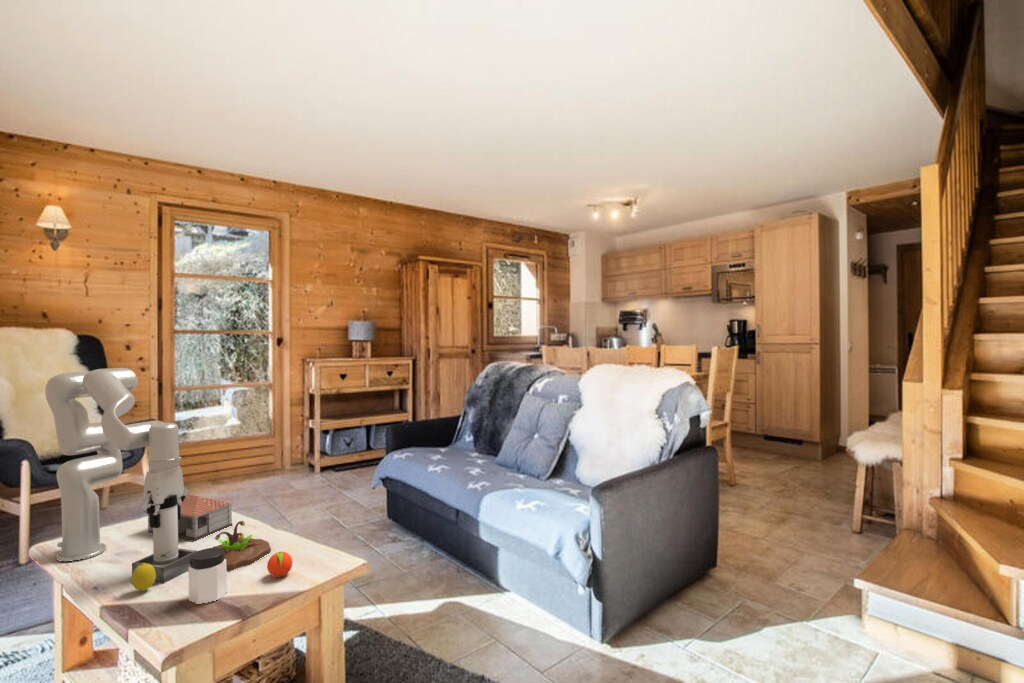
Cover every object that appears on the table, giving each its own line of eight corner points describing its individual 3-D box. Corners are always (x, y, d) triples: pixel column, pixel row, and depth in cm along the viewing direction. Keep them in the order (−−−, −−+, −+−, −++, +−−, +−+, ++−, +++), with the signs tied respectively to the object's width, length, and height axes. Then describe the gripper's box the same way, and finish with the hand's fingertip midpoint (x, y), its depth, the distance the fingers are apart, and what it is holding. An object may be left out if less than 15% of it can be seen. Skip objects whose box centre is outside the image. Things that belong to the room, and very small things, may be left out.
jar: (203, 588, 146) (202, 546, 146) (231, 588, 146) (231, 546, 146) (182, 605, 137) (181, 560, 137) (213, 605, 137) (212, 560, 137)
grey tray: (132, 578, 152) (131, 563, 152) (168, 561, 164) (168, 547, 164) (163, 583, 149) (163, 567, 149) (199, 565, 161) (198, 550, 161)
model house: (146, 534, 188) (146, 493, 187) (187, 519, 202) (186, 481, 202) (193, 542, 179) (193, 499, 179) (232, 526, 194) (231, 487, 194)
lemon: (152, 584, 149) (151, 557, 148) (158, 590, 145) (158, 562, 145) (129, 592, 144) (128, 563, 144) (135, 598, 141) (134, 569, 141)
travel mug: (167, 566, 153) (165, 499, 153) (148, 564, 154) (147, 498, 154) (184, 557, 159) (183, 492, 159) (166, 555, 160) (165, 491, 160)
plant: (282, 552, 171) (282, 518, 171) (225, 576, 154) (224, 539, 154) (246, 540, 181) (245, 509, 181) (188, 562, 164) (187, 527, 164)
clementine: (294, 579, 151) (294, 555, 151) (268, 585, 148) (268, 560, 148) (291, 568, 158) (291, 545, 158) (266, 573, 155) (266, 550, 155)
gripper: (179, 457, 166) (181, 512, 166) (126, 471, 149) (128, 532, 149) (198, 458, 164) (199, 514, 164) (147, 472, 147) (148, 535, 147)
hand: (165, 522), depth 156 cm, fingers closed on travel mug, 6 cm apart
